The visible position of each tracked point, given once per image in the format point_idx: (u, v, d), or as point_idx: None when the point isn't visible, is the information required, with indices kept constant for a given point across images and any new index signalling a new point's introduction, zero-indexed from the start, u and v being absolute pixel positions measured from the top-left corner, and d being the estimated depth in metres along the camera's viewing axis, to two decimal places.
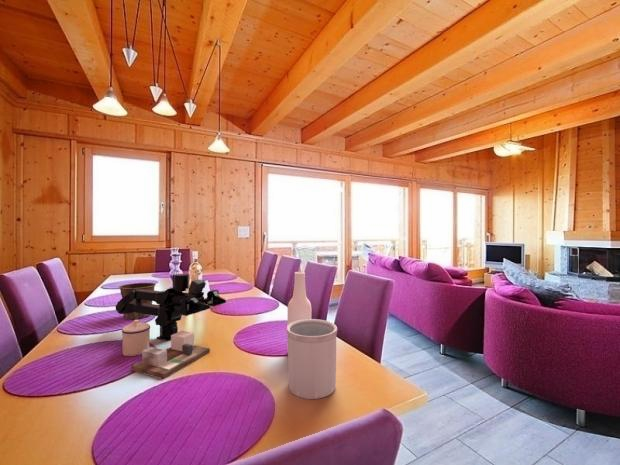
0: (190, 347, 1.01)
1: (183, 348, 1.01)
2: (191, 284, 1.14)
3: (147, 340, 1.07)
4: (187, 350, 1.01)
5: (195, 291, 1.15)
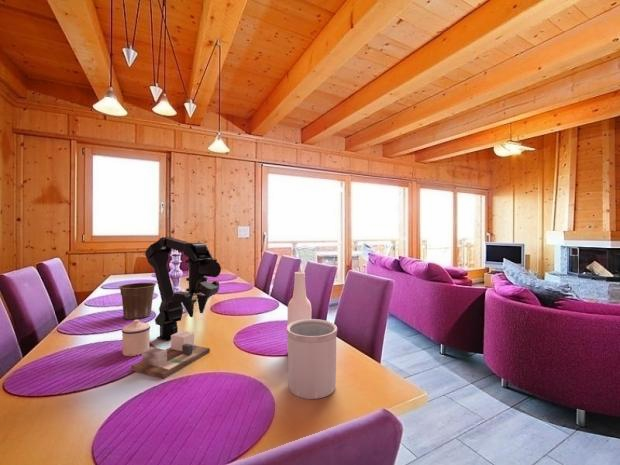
0: (190, 347, 1.01)
1: (183, 348, 1.01)
2: (207, 289, 1.08)
3: (147, 340, 1.07)
4: (187, 350, 1.01)
5: None
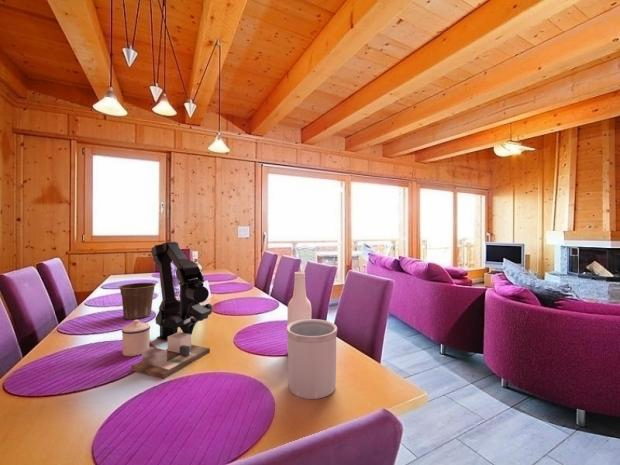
0: (187, 348, 1.00)
1: (180, 349, 1.00)
2: (198, 313, 1.05)
3: (147, 340, 1.07)
4: (184, 351, 1.00)
5: None
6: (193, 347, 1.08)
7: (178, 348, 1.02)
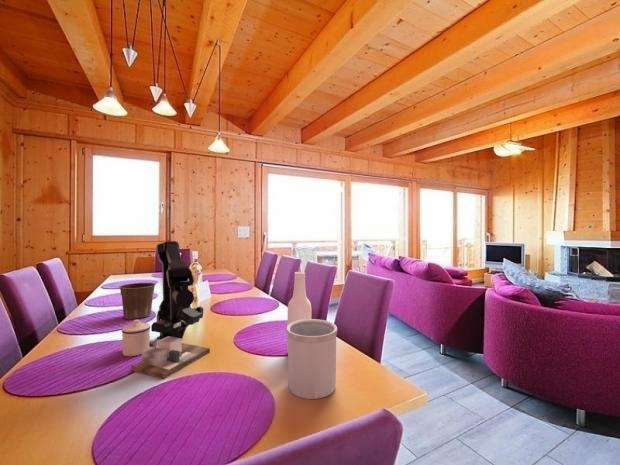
0: (177, 354, 0.96)
1: (170, 355, 0.96)
2: (189, 317, 1.00)
3: (147, 340, 1.07)
4: (174, 357, 0.96)
5: None
6: (193, 347, 1.08)
7: (168, 353, 0.98)
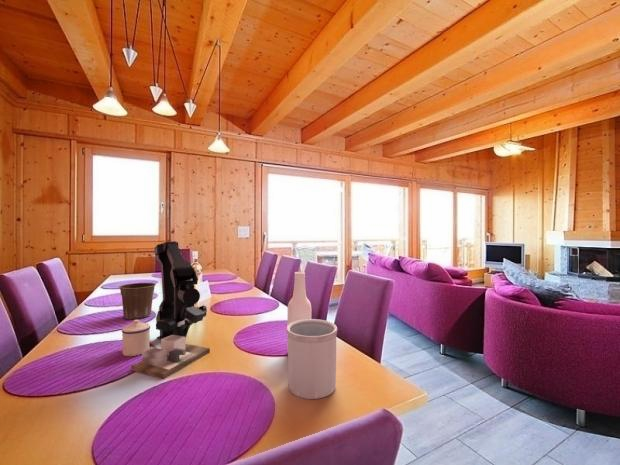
0: (177, 354, 0.96)
1: (170, 355, 0.96)
2: (193, 316, 1.02)
3: (147, 340, 1.07)
4: (174, 357, 0.95)
5: None
6: (193, 347, 1.08)
7: None
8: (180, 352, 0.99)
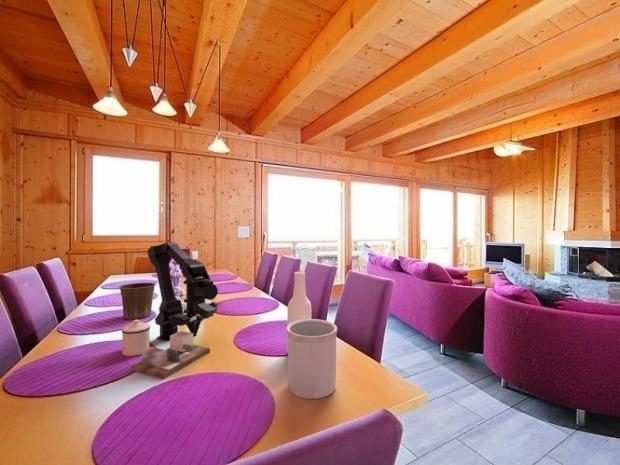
0: (177, 354, 0.96)
1: (170, 355, 0.96)
2: (204, 311, 1.07)
3: (147, 340, 1.07)
4: (174, 357, 0.95)
5: None
6: None
7: (180, 347, 1.03)
8: (188, 348, 1.02)
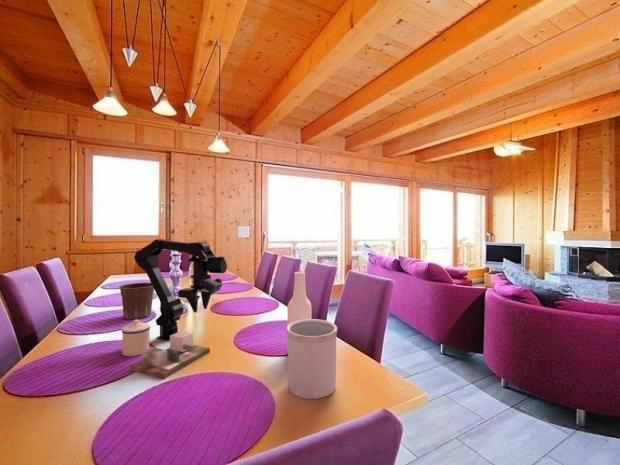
0: (177, 354, 0.96)
1: (170, 355, 0.96)
2: (210, 286, 1.15)
3: (147, 340, 1.07)
4: (174, 357, 0.95)
5: None
6: None
7: (180, 347, 1.03)
8: (188, 348, 1.02)
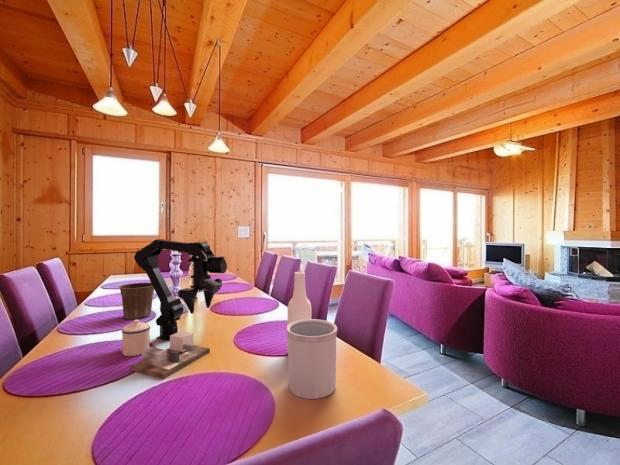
0: (177, 354, 0.96)
1: (170, 355, 0.96)
2: (210, 286, 1.15)
3: (147, 340, 1.07)
4: (174, 357, 0.95)
5: None
6: None
7: (180, 347, 1.03)
8: (188, 348, 1.02)
